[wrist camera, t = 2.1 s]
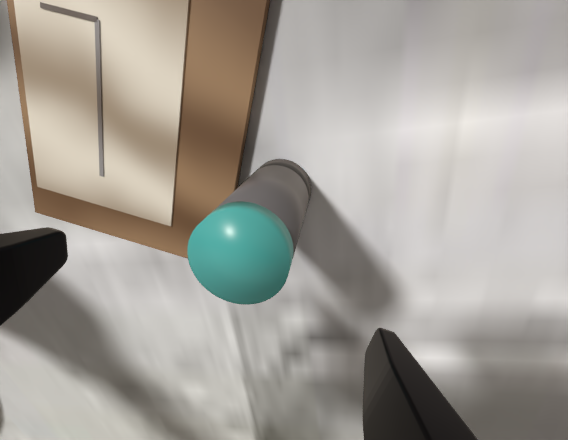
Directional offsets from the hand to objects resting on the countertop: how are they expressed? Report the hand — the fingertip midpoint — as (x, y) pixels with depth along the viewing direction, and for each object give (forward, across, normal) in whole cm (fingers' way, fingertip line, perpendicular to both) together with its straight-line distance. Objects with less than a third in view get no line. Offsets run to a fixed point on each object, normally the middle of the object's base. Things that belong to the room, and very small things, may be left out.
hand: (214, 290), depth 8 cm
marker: (+10, 0, 0) cm, 10 cm away
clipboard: (+10, +9, -3) cm, 13 cm away
